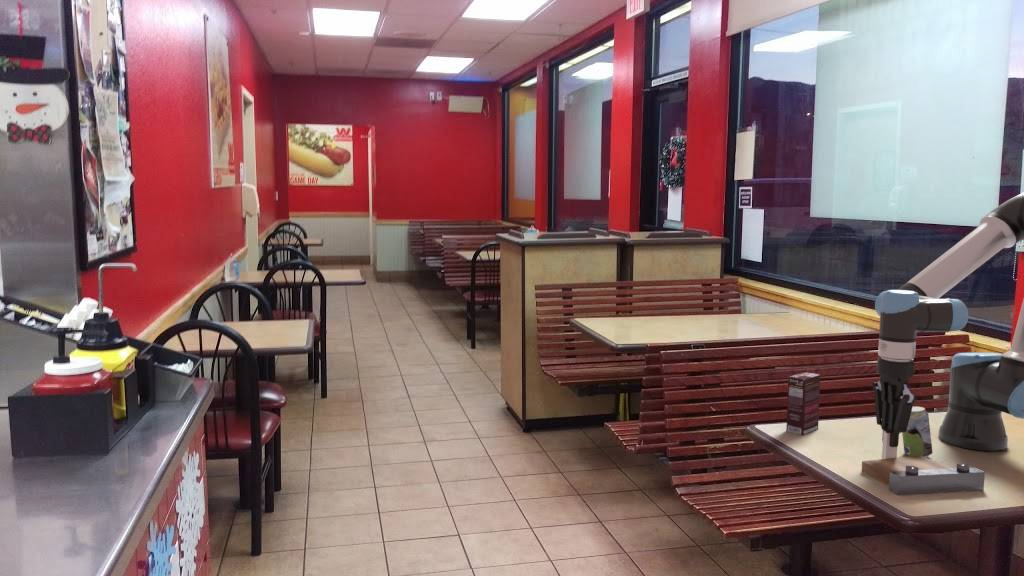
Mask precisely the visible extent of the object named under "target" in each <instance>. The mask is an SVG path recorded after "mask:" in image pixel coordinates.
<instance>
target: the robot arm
mask: <svg viewBox="0 0 1024 576" xmlns="http://www.w3.org/2000/svg"><path fill="white" fill-rule="evenodd" d="M1023 240H1024V192H1022V193H1020V194H1018V195H1016V196H1014V197H1011V198H1010V199H1008V200H1006V201H1005V202H1003V203H1001V204H1000V205H997V206H996V208H993V209H992V210H991V211H989V212H988V213H987V214H985V216H983V217H981V219H980V221H979V226H977V227H976V228H975V229H973V230H972V231H971V232H970V233H968V234H967V235H965V237H963V238H962V239H961V240H960V241H958V242H957V243H956V244H954V245H953V246H952V247H951V248H949V249H948V250H946V251H945V252H944V253H943V254H941V255H940V256H939V257H938V258H937V259H935V260H934V261H933V262H932V263H930V264H929V265H927V266H926V267H925V268H924V269H923V270H922V271H920V272H918V273H917V274H916V275H915V276H913V277H912V278H911V279H910V280H908V281H907V282H906V283H904V284H903V285H902V286H901V287H899V288H898V289H888V290H884V291H882V292H880V293H879V294H878V296H877V297H876V299H875V302H874V307H875V312H876V314H877V315H878V316H879V331H878V332H879V333H878V334H879V335H878V350H877V355H878V356H879V357H878V358H877V360H876V361H877V362H876V373H877V374H878V375H879V376H880V377H879V380H878V381H877V382H876V381H873V382H872V384H871V386H872V390H873V392H874V395H873V396H874V405H875V418H876V419H875V420H876V425H880V428H881V430H882V438H881V440H882V441H881V442H882V447H881V448H882V451H881V459H888V458H897V455H898V446H899V439H900V434H902V433H903V432H906V431H907V427H908V423H909V419H910V415H911V411H912V407H913V406H914V404H915V402H916V400H917V398H918V396H917V394H915V393H911V391H910V383H909V380H910V378H912V377H914V374H915V372H914V370H915V362H914V359H915V358H916V345H917V334H918V333H937V332H939V333H942V332H943V333H950V332H958V331H961V330H962V329H964V328H965V327H966V325H967V323H968V322H969V321H968V320H969V310H968V307H967V306H966V304H965V302H963V301H962V300H960V299H959V298H949V297H945V298H941V297H942V296H944V295H945V294H946V293H947V292H948V291H950V290H952V289H953V288H954V287H955V286H957V284H959V283H960V282H962V281H963V280H964V279H965V278H966V277H968V276H969V275H971V274H972V273H973V272H974V271H976V270H977V269H978V268H980V267H981V266H982V265H984V264H985V263H986V262H987V261H989V260H990V259H991V258H992V257H994V256H995V255H996V254H998V253H999V252H1000V251H1001V250H1002V249H1009V248H1013V247H1014V246H1015V245H1016V244H1018V243H1019V242H1021V241H1023ZM1022 299H1023V300H1022V303H1021V308H1020V311H1019V315H1018V319H1017V321H1016V322H1017V323H1016V327H1015V331H1014V335H1013V338H1012V342H1011V346H1010V349H1009V350H1007V351H1006V352H1004V353H998V352H997V353H996V352H957V353H956V354H954V355H953V356H952V359H951V366H950V369H949V371H950V373H949V375H950V376H949V391H948V392H949V393H948V408H947V411H946V413H945V415H944V418H943V421H942V422H941V425H940V426H939V428H938V439H939V440H941V441H942V442H944V443H947V444H949V445H951V446H954V447H959V448H963V449H968V450H974V451H975V450H976V451H988V452H989V451H990V452H996V451H1003V450H1005V449H1007V448H1008V444H1009V443H1008V441H1009V440H1008V439H1009V438H1008V435H1007V432H1006V428H1005V423H1004V420H1003V418H1002V417H1003V416H1002V413H1005V414H1008V415H1011V416H1012V417H1014V418H1017V419H1022V420H1024V298H1022Z"/></svg>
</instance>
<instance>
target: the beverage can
mask: <svg viewBox="0 0 1024 576" xmlns="http://www.w3.org/2000/svg"><path fill="white" fill-rule="evenodd" d="M901 435H902V436H901V437H902V442H903V451H904V454H905V455H906V456H908V455H909V456H916V455H921V456H923V457H926V458H928V457H930V455H932V454H933V445H932V437H931V436H932V435H931V426H930V418H929V413H928V411H927V410H926V408H925V407H923V406H917V405H915V406H914V405H913V407H912V411H911V415H910V419H909V423H908V427H907V431H906V432H903V433H901Z"/></svg>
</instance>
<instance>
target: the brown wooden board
mask: <svg viewBox="0 0 1024 576" xmlns="http://www.w3.org/2000/svg"><path fill="white" fill-rule="evenodd" d="M906 466H915V467H917V468H919V470H930V469H949V468H951V467H950V466H948V465H946V464H943V463H940V462H938V461H936V460H933V459H930V458H928V457H923V456H921V455H916V456H908V455H906V456H899V457H897V458H888V459H883V458H880V459H870V460H862V462H861V472H862V473H864V474H866V475H868V476H870V477H871V478H873V479H876V480H878V481H879V482H882V483H884V484H886V485H888V486H889V479H890V472H893V471H906Z"/></svg>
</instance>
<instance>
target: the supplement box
mask: <svg viewBox="0 0 1024 576" xmlns="http://www.w3.org/2000/svg"><path fill="white" fill-rule="evenodd" d="M787 382H788V383H787V384H788V385H787V404H786V405H787V407H786V410H787V411H786V427H785V428H786V429H785V430H786V432H788V433H791V434H792V433H793V434H796V435H800V436H805V435H808V434H810V433H812V432H816V431H818V430H819V421H820V420H819V418H820V417H819V416H820V414H819V412H820V391H821V390H820V389H821V385H820V384H821V374H820V373H813V372H806V371H804V372H801V373H797V374H793V375H789V376H788V381H787Z"/></svg>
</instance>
